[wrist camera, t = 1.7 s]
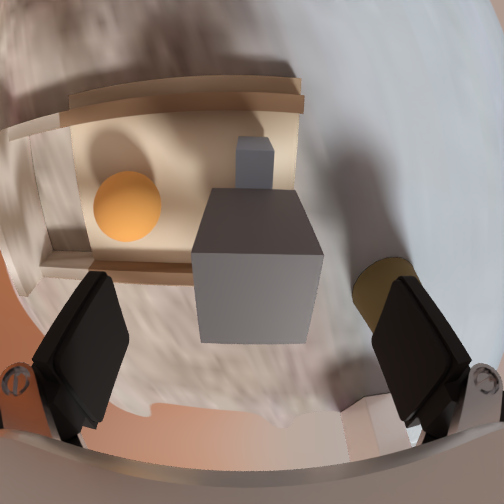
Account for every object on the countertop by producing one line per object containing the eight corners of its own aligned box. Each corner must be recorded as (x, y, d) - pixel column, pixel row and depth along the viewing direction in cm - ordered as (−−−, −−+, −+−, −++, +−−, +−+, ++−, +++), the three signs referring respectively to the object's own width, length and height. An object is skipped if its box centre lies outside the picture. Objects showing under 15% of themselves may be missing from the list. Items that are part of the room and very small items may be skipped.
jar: (363, 424, 37) (378, 488, 27) (328, 418, 35) (340, 493, 25) (407, 395, 33) (431, 464, 23) (376, 386, 31) (400, 469, 21)
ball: (106, 165, 16) (74, 186, 12) (166, 161, 16) (144, 182, 12) (115, 223, 18) (89, 254, 14) (171, 223, 18) (154, 256, 15)
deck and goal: (18, 111, 14) (-27, 125, 10) (297, 79, 15) (317, 74, 10) (51, 270, 21) (24, 305, 17) (281, 278, 22) (289, 325, 18)
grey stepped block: (220, 136, 15) (186, 192, 7) (286, 138, 15) (333, 196, 7) (221, 247, 18) (205, 370, 10) (277, 248, 19) (298, 371, 11)
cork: (380, 246, 20) (451, 357, 11) (427, 271, 22) (491, 366, 12) (338, 303, 23) (376, 420, 14) (387, 320, 25) (430, 419, 15)
